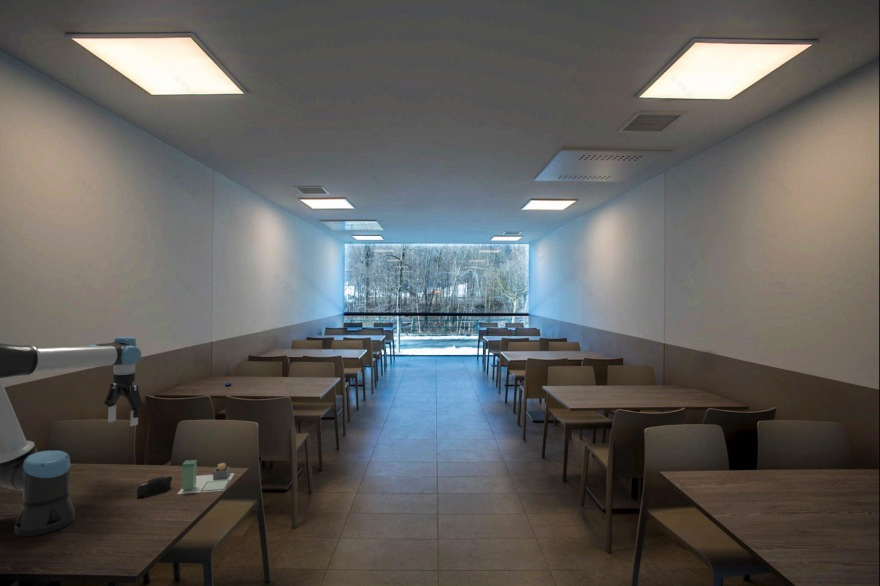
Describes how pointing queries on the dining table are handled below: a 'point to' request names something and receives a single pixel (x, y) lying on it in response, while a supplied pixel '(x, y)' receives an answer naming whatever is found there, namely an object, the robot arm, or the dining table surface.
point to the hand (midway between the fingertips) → (122, 423)
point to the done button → (221, 467)
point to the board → (208, 484)
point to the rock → (154, 486)
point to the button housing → (221, 474)
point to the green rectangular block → (189, 474)
